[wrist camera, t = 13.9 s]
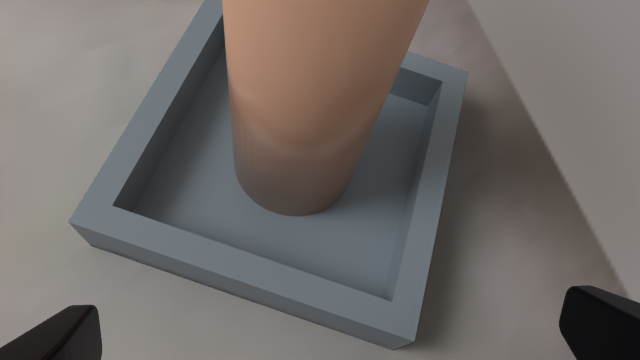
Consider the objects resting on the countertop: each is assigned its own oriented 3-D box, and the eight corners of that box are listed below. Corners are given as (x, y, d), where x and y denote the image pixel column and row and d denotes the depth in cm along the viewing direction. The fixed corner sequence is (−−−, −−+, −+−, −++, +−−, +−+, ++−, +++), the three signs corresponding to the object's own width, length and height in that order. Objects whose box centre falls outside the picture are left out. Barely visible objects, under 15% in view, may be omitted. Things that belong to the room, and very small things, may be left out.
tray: (393, 350, 17) (414, 341, 15) (91, 245, 17) (68, 221, 15) (446, 104, 23) (468, 71, 21) (216, 27, 23) (213, -14, 21)
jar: (300, 244, 18) (393, -60, 6) (204, 162, 19) (127, -234, 7) (378, 159, 20) (556, -188, 8) (288, 89, 21) (334, -309, 9)
